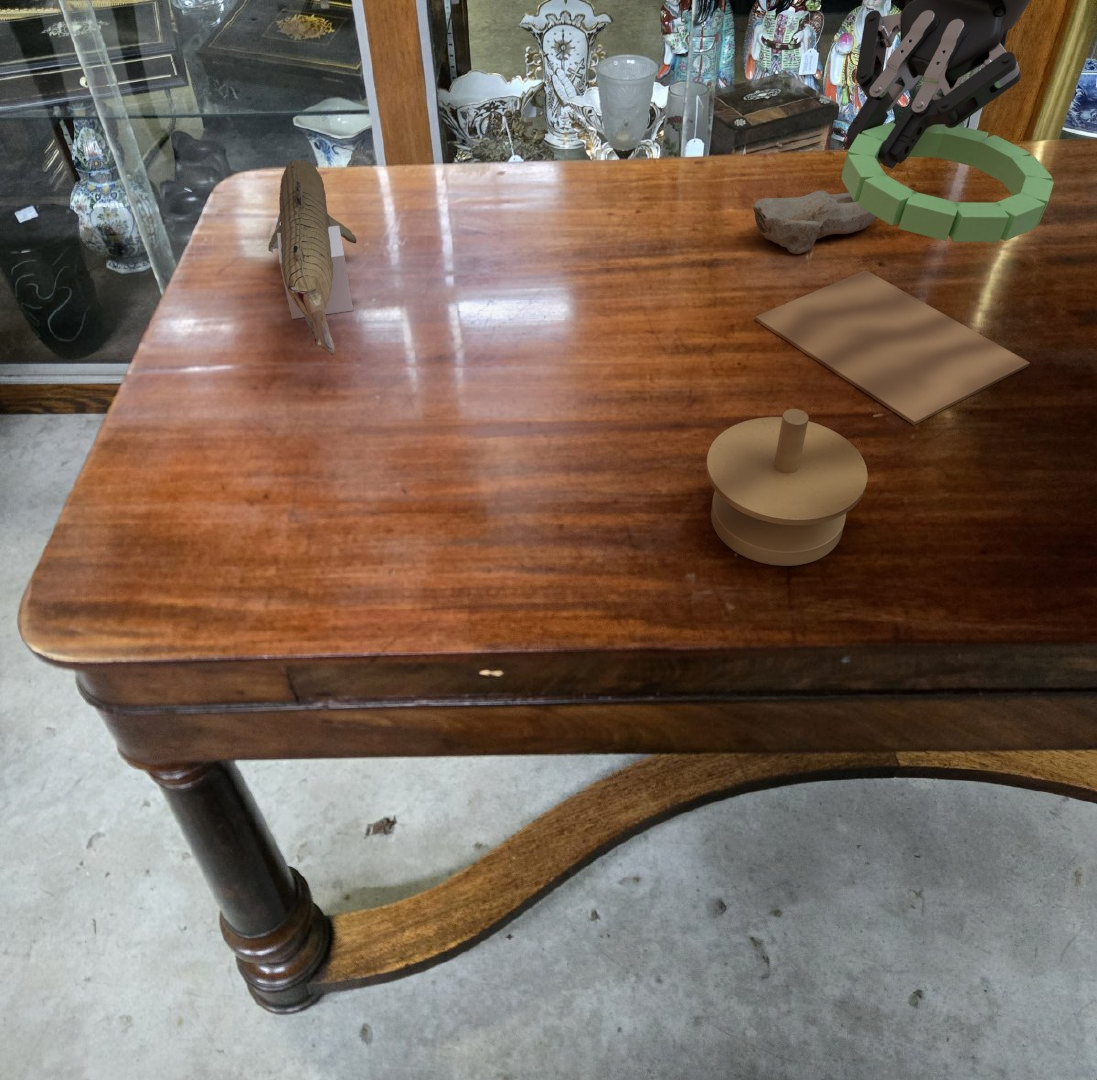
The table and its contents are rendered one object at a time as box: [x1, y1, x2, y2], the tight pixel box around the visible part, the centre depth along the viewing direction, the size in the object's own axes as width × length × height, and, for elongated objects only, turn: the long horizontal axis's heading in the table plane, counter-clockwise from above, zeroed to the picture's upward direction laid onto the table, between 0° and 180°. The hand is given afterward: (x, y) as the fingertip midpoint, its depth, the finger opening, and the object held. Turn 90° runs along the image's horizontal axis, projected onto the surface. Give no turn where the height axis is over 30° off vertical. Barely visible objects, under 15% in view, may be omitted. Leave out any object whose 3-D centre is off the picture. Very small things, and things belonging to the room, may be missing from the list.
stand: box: [705, 408, 869, 567], centre depth 76 cm, size 12×12×10 cm
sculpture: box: [752, 189, 879, 255], centre depth 110 cm, size 7×5×15 cm
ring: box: [841, 120, 1054, 243], centre depth 77 cm, size 15×15×2 cm
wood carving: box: [268, 159, 357, 356], centre depth 98 cm, size 9×35×11 cm, turn 13°
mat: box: [754, 269, 1031, 426], centre depth 97 cm, size 20×15×1 cm
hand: (869, 155), depth 80 cm, fingers closed on ring, 2 cm apart
